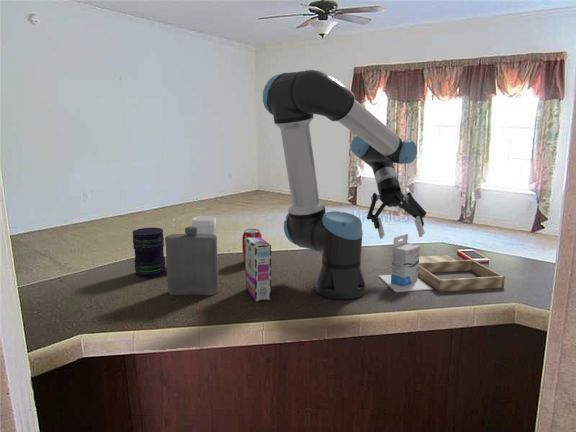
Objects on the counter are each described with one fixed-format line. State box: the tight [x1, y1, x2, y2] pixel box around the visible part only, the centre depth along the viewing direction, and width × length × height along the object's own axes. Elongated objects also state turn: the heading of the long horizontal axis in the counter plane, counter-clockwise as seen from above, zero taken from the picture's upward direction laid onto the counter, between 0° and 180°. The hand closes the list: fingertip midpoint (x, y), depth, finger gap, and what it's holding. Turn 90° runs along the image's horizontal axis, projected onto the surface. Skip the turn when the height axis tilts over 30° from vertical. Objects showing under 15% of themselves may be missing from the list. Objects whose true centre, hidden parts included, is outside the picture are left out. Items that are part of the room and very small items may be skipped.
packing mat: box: [378, 274, 434, 293], centre depth 141 cm, size 12×14×1 cm
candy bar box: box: [245, 237, 272, 302], centre depth 129 cm, size 11×5×16 cm, turn 21°
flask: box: [164, 225, 219, 296], centre depth 131 cm, size 15×6×20 cm, turn 91°
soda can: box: [241, 228, 263, 264], centre depth 160 cm, size 7×7×12 cm
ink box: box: [390, 233, 421, 286], centre depth 139 cm, size 8×5×15 cm, turn 134°
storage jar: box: [132, 227, 166, 280], centre depth 147 cm, size 10×10×15 cm
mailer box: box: [418, 254, 506, 293], centre depth 151 cm, size 22×34×4 cm, turn 10°
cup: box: [191, 215, 219, 262], centre depth 162 cm, size 9×9×16 cm
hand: (402, 235), depth 143 cm, fingers open, 13 cm apart
